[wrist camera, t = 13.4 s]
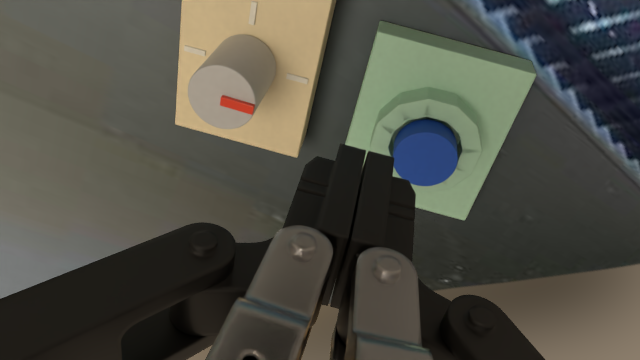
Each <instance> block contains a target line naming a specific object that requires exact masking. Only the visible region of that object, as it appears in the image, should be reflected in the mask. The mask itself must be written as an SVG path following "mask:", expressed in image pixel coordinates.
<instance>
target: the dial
mask: <svg viewBox="0 0 640 360" xmlns="http://www.w3.org/2000/svg"><path fill="white" fill-rule="evenodd" d="M275 75H276V62H275V58H274V56H273V54H272V52H271V50H270V49H269V48H268V47H267V45H266V44H264V43H263V42H262V41H261V40H259V39H257V38H255V37H253V36H250V35H244V34H238V35H233V36H230V37H228V38H227V39H225V40H224V41H223V42H222V43H221V44H220V45H219V46H218V47H217V48H216V50H215V51H214V52H213V53H212V54H211V55H210V56H209V57H208V58H207V60H206V61H205V62H204V63H203V64H202V65H201V66H200V67H199V68H198V70H197V71H196V72H195V73H194V74H193V75H192V77H191V79H190V81H189V84H188V98H189V101H190V104H191V106H192V108H193V110H194V111H195V113H196V114H197V115H198V116H199V117H200V118H201V119H202V120H203V121H205V122H206V123H208V124H210V125H212V126H214V127H217V128H221V129H235V128H239V127H241V126H243V125H245V124H246V123H247V122H248V121H249V120H250V119H251V118H252V116H253V115H254V113H255V111H256V110H257V108H258V106H259V104H260V103H261V101H262V99H263V98H264V96H265V94H266V92H267V91H268V89H269V87H270V86H271V84H272V82H273V80H274V78H275Z"/></svg>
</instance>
